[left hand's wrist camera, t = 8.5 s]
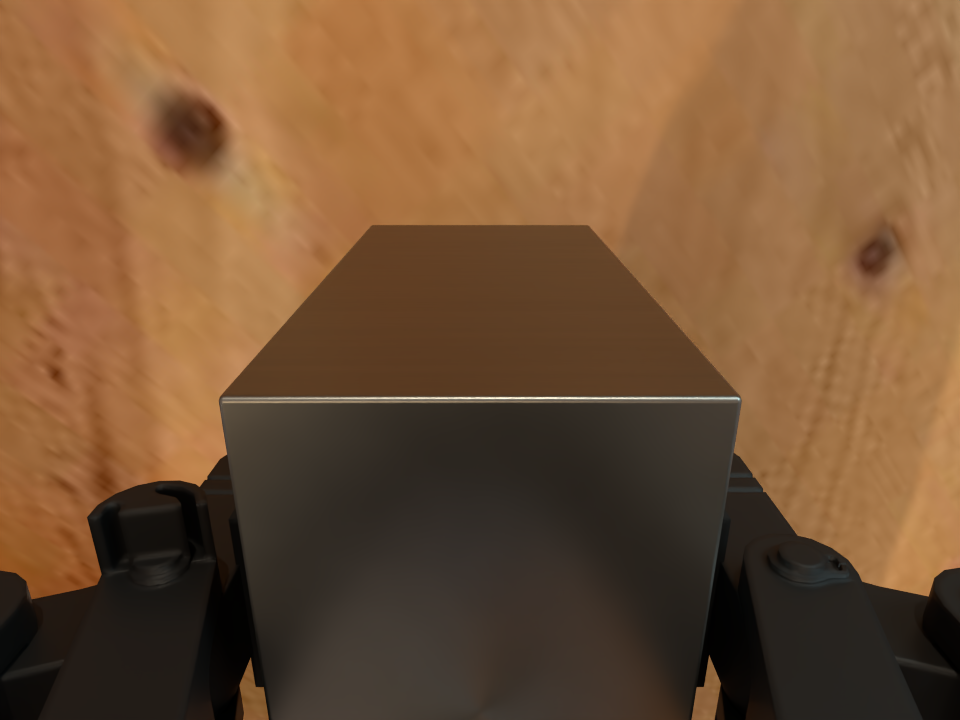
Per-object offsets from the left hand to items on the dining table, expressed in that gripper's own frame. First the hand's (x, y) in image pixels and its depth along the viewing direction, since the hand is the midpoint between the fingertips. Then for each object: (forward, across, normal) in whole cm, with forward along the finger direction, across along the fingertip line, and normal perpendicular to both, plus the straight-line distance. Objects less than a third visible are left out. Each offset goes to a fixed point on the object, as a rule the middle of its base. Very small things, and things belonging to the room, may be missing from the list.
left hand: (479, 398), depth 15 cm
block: (+1, 0, 0) cm, 1 cm away
